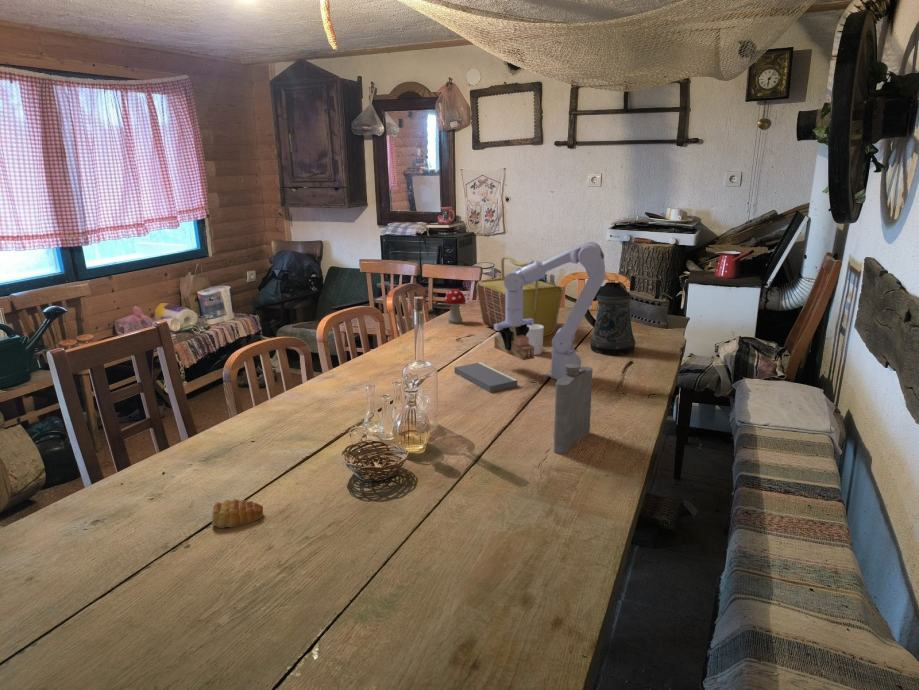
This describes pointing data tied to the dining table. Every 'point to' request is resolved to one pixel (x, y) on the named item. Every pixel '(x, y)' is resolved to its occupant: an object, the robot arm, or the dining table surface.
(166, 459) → the dining table surface
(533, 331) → the white cup
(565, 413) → the hip flask
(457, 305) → the decorative mushroom
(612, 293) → the beer stein
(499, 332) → the blue-grey square block
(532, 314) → the picnic basket
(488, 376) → the dock
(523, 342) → the pink square block
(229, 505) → the pastry
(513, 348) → the brown notched bar
